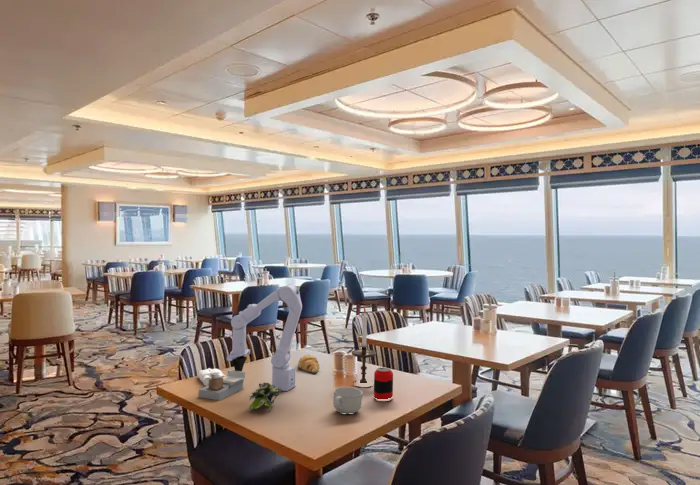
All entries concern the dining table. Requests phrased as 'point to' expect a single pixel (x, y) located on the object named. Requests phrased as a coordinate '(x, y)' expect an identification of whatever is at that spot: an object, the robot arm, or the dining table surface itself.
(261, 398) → the green leafy plant
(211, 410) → the dining table surface
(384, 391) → the soda can
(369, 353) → the candlestick
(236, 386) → the housing
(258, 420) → the dining table surface
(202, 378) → the binoculars
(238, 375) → the lid
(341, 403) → the teacup
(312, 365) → the croissant
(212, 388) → the block
